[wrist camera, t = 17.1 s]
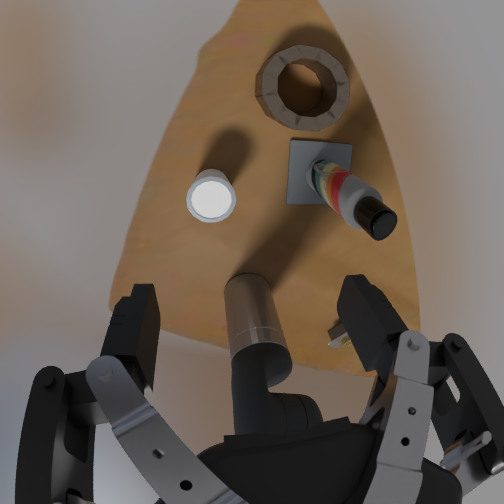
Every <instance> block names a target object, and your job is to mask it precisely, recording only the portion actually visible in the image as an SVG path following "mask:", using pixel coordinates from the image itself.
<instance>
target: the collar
mask: <svg viewBox="0 0 504 504" xmlns="http://www.w3.org/2000/svg"><path fill="white" fill-rule="evenodd" d="M289 63H292V64H301V65H305V66H306V67H307V68H309V69H310V70H312V71H313V72H315V73H316V75H317V77H318V79H319V81H320V83H321V85H322V88H321V99H320V101H319V102H318V104H317V105H316V106H315V108H314V109H313V110H311V111H309V112H306V113H304V114H302V115H297V114H295V113H294V112H292V111H291V110H289V109H288V108H286V107H285V106H284V104H283V102H282V100H281V98H280V96H279V95H278V93H277V89H278V76H279V74H280V73H281V71H282V70H283V69H284V67H285V66H286V64H289ZM255 96H256V99H257V101H258V102H259V104H260V106H261V108H262V109H263V111H264V113H265V114H266V115H267V116H268V117H270V118H272V119H273V120H275V121H277V122H278V123H280V124H282V125H283V126H286V127H289V128H291V129H294V130H305V131H320V130H322V129H324V128H326V127H328V126H330V125H332V124H334V123H336V122H338V120H339V119H340V117H341V116H342V114H343V113H344V111H345V110H346V108H347V107H348V104H349V97H350V81H349V79H348V77H347V75H346V73H345V71H344V69H343V67H342V65H341V63H340V62H339V61H338V60H337V59H335V58H334V57H333V56H331V55H330V54H329V53H327V52H326V51H325V50H323V49H321V48H317V47H311V46H304V45H295V46H293V47H290V48H288V49H285V50H283V51H280V52H278V53H276V54H274V55H273V56H272V57H270V58H269V59H267V60H266V62H265V63H264V65H263V66H262V68H261V69H260V70H259V72H258V73H257V75H256V83H255Z"/></svg>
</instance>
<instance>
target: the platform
mask: <svg viewBox="0 0 504 504" xmlns="http://www.w3.org/2000/svg"><path fill="white" fill-rule="evenodd" d="M328 333H329V336H330V338H331V340H332V341H331V342H329V343H328V344H329V346H330V347H331V348H341V347H343V346H344V345H347V344H349V343H351V340H350V338H347V337H348V333H347V331H346V329H345V327H344V325H343V323H340V324H339V325H337V326H336V327H334V328H332V329H331V330H329V331H328ZM350 345H351V344H350ZM350 345H348V346H350ZM348 346H346V347H348ZM343 348H344V349H345V347H343Z"/></svg>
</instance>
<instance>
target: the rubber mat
mask: <svg viewBox="0 0 504 504" xmlns="http://www.w3.org/2000/svg"><path fill="white" fill-rule="evenodd" d="M352 148H353V145H351V144H342V143H331V142H319V141H304V140H290V152H289V169H288V184H287V198H286V204H327V203H326V202H325V201H324V200H323V199H322V198H321V197H320V196H319V195H318V194H317V193H316V192H315V191H314V190H313V189H312V188H311V187H310V186H309V184H308V182H307V179H306V172H307V169H308V167H309V166H310V164H311V163H313V162H314V161H316V160H319V159H326V160H329V161H331V162H333V163H335V164H337V165H338V166H340V167H342V168H343V169H345V170H347V171H348V172H350V165H351V157H352Z"/></svg>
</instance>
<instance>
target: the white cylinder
mask: <svg viewBox="0 0 504 504" xmlns="http://www.w3.org/2000/svg"><path fill="white" fill-rule="evenodd" d="M186 201H187V205H188V209H189V211H190V212H191V213H192V215H193V216H194V217H196V218H197V219H199V220H200V221H203V222H208V223H213V222H219V221H221V220H223V219H225V218H227V217H228V216H229V215H230V213H231V212H232V211H233V210H234V207H235V203H236V196H235V191H234V189H233V188H232V186H231V184H230V183H229V181H228V179H227V178H226V176H225V174H224V173H222V172H221V171H219V170H216V169H207V170H204V171H202V172H201V173H199V174H198V176H197V177H196V178H195V180H194V182H193V183H192V185H191V187H190V189H189V191H188V195H187V199H186Z"/></svg>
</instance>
